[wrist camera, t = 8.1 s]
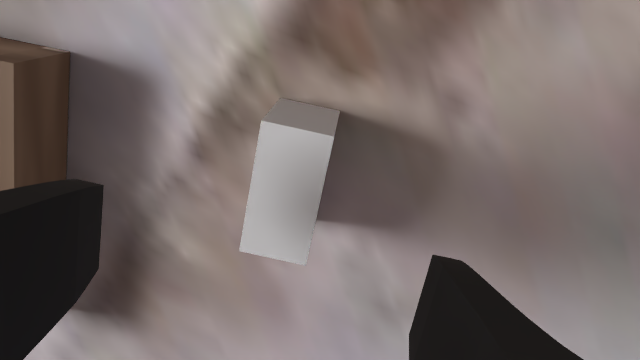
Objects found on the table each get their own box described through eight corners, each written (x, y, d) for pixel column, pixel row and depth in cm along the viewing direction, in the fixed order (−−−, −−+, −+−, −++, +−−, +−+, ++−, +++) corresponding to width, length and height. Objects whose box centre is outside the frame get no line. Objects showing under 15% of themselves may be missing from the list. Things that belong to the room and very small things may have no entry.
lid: (503, 30, 17) (543, 40, 13) (413, 320, 21) (424, 393, 17) (164, -44, 17) (106, -54, 13) (135, 258, 21) (84, 316, 17)
